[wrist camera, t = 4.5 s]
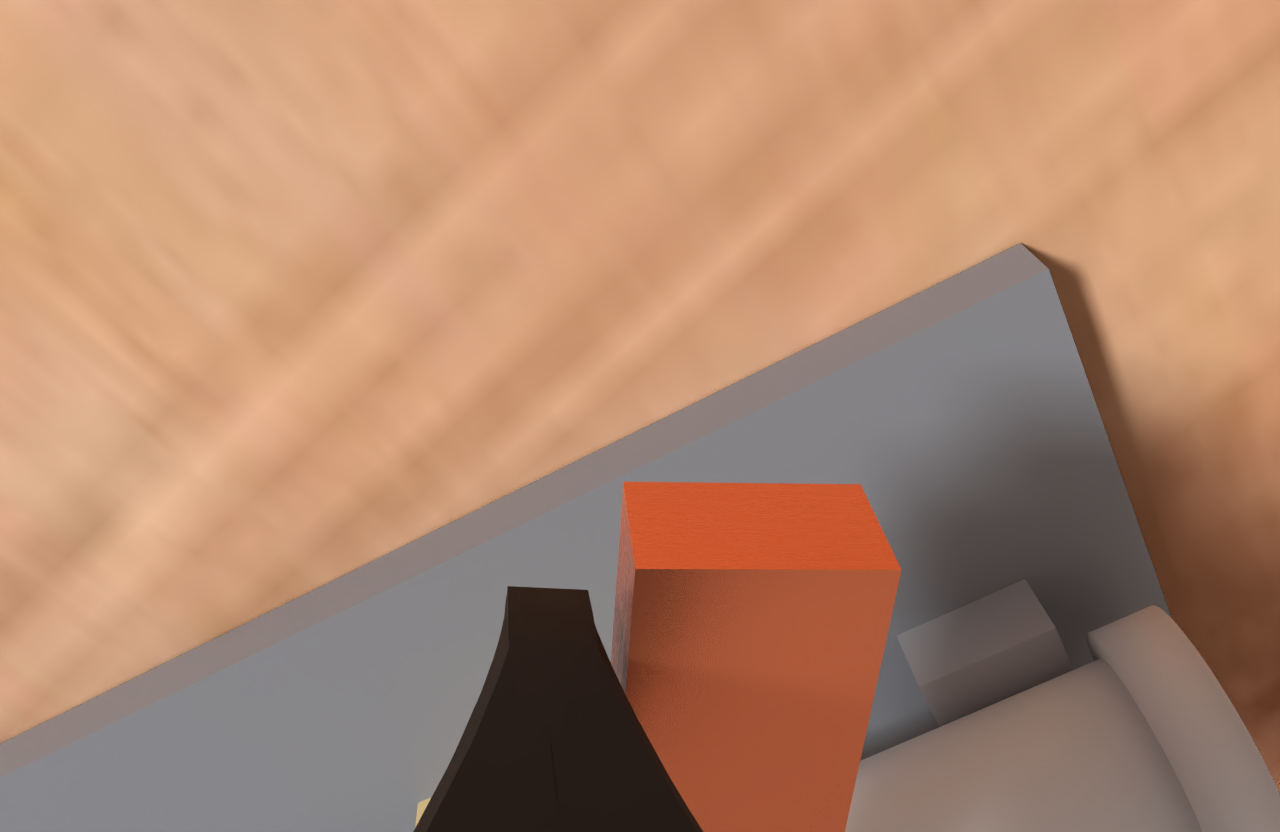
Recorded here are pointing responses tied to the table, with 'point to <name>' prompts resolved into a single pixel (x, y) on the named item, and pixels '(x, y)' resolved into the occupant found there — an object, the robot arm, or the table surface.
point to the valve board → (587, 560)
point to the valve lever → (754, 643)
